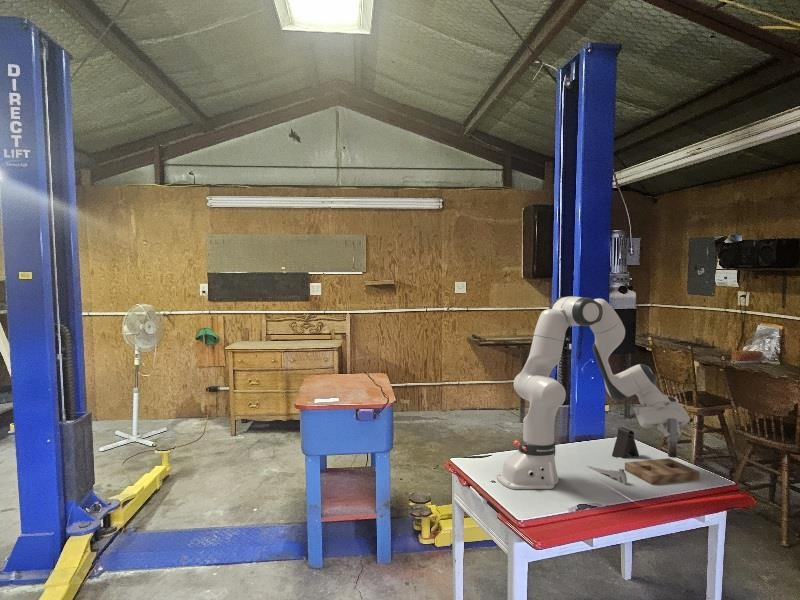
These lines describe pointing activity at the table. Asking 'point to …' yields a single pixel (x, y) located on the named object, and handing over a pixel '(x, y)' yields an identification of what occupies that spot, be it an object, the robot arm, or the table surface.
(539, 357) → the robot arm
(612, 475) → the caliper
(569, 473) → the table surface
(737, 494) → the table surface
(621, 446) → the black a-frame stand
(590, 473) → the table surface
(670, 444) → the peg
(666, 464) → the hole block
